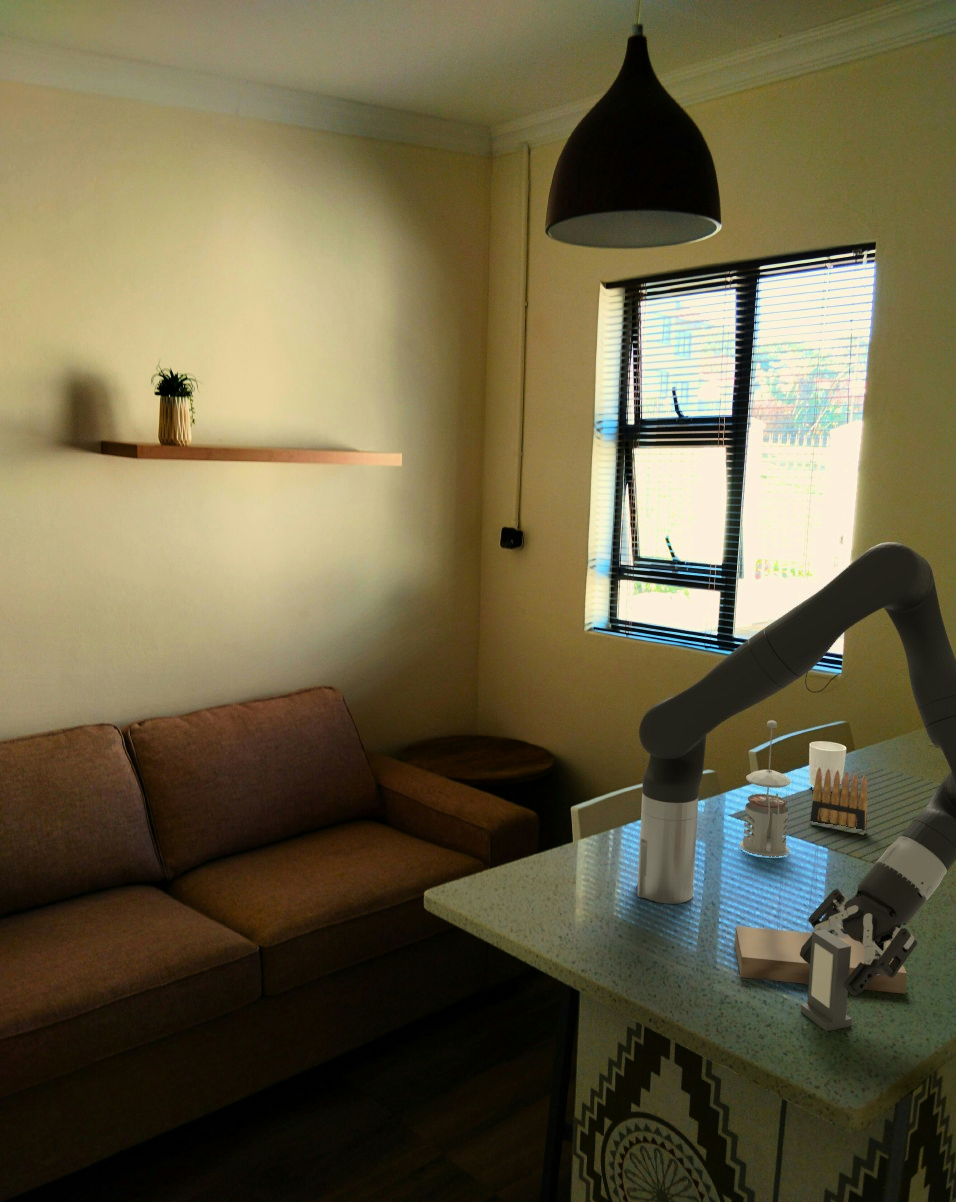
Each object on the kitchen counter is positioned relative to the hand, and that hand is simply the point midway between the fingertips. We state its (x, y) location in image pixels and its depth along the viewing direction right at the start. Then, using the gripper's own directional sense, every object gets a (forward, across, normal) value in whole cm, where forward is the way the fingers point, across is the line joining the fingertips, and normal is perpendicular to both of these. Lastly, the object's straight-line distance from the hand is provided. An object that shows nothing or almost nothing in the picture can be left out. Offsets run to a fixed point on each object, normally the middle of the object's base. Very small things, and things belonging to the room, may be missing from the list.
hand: (826, 975), depth 132 cm
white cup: (-43, -81, +52) cm, 105 cm away
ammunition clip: (-32, -58, +41) cm, 78 cm away
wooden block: (-2, -12, +10) cm, 16 cm away
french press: (-17, -52, +26) cm, 61 cm away
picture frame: (+4, 0, +5) cm, 6 cm away
